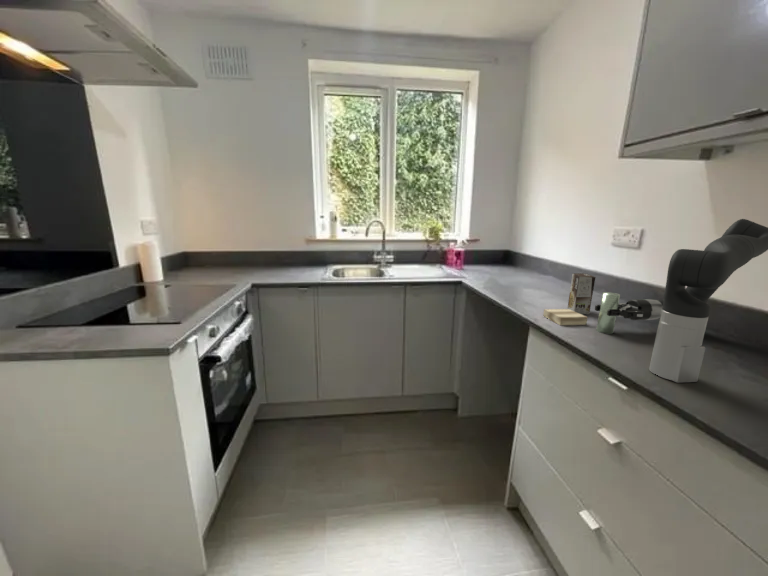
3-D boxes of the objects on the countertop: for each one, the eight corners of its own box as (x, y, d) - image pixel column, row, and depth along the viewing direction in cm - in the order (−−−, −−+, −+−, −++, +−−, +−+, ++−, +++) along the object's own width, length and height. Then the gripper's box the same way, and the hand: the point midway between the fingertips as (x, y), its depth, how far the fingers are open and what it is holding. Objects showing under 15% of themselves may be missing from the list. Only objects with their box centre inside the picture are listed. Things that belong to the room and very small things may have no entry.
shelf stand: (586, 324, 133) (587, 317, 132) (559, 325, 131) (561, 317, 131) (567, 315, 144) (568, 308, 143) (543, 316, 142) (544, 309, 141)
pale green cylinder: (616, 333, 124) (623, 295, 121) (603, 334, 123) (610, 295, 120) (605, 328, 129) (612, 292, 126) (592, 329, 128) (599, 292, 125)
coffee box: (589, 314, 146) (596, 277, 143) (573, 313, 147) (579, 276, 144) (582, 309, 155) (588, 273, 151) (566, 307, 156) (572, 272, 153)
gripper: (629, 294, 132) (589, 295, 130) (664, 305, 118) (619, 305, 116) (625, 313, 134) (586, 314, 131) (659, 326, 120) (615, 326, 118)
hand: (602, 310), depth 124 cm, fingers open, 5 cm apart
